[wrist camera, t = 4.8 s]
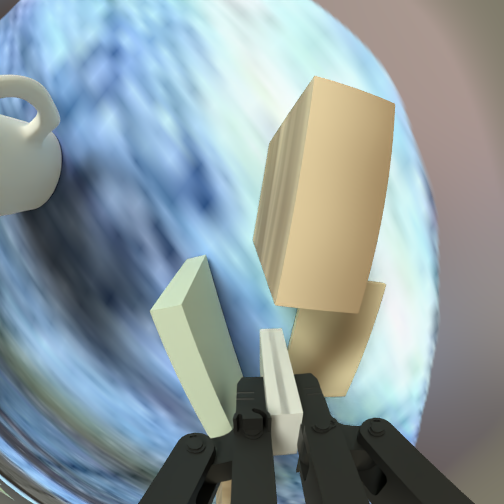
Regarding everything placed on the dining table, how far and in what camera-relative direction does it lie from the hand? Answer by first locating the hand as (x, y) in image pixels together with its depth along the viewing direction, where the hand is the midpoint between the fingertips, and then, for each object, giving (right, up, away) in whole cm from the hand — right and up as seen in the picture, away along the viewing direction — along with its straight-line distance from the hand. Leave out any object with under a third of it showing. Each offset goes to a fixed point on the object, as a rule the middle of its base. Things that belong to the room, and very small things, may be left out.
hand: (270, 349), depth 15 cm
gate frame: (+3, -1, +4) cm, 5 cm away
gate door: (-3, -1, +3) cm, 4 cm away
